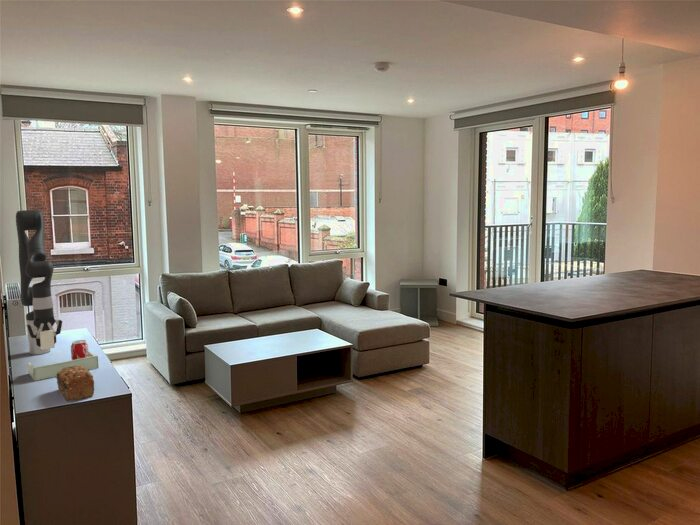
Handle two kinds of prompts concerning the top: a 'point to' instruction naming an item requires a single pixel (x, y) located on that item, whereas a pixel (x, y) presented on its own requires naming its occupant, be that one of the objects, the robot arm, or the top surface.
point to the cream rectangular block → (47, 339)
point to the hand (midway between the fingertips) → (46, 345)
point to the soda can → (79, 349)
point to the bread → (75, 383)
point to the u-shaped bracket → (53, 369)
